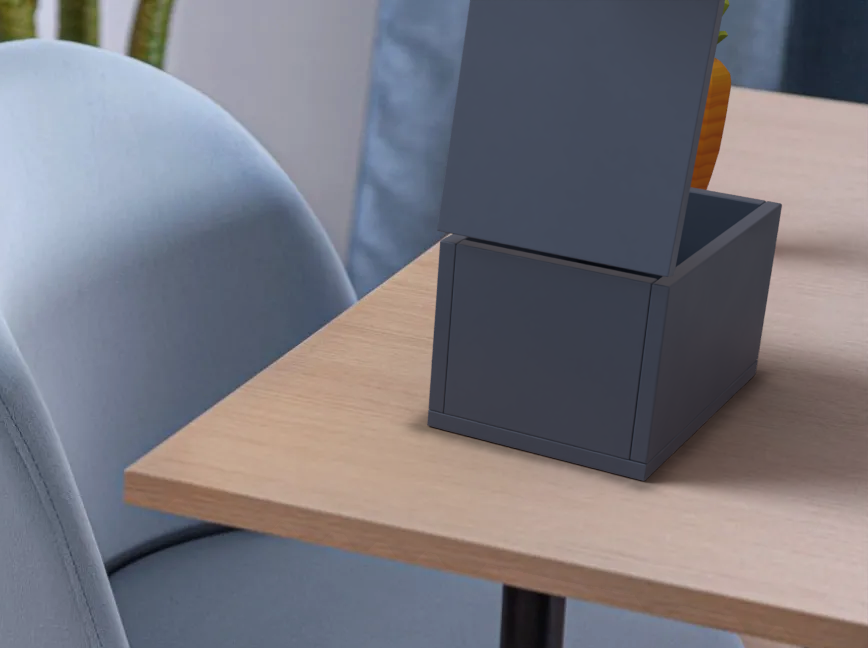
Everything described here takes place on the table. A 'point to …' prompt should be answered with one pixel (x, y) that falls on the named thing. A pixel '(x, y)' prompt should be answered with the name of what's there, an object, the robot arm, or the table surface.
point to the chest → (602, 340)
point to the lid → (580, 126)
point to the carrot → (712, 120)
